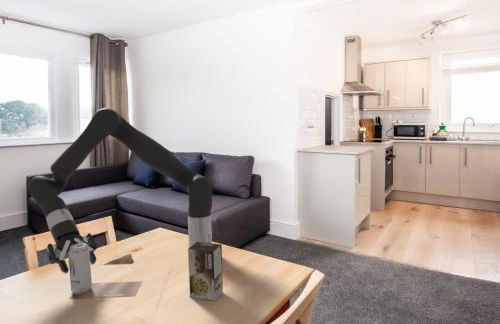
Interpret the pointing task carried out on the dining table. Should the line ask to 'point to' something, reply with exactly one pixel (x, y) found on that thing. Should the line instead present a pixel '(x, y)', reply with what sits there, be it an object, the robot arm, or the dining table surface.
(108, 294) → the walnut board
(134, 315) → the dining table surface
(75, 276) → the energy drink can
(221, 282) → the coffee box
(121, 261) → the wooden fragment
